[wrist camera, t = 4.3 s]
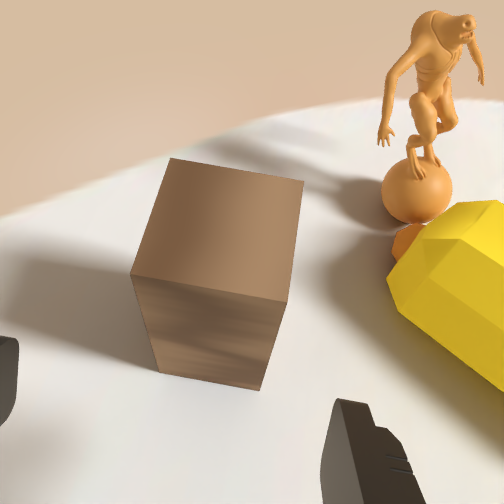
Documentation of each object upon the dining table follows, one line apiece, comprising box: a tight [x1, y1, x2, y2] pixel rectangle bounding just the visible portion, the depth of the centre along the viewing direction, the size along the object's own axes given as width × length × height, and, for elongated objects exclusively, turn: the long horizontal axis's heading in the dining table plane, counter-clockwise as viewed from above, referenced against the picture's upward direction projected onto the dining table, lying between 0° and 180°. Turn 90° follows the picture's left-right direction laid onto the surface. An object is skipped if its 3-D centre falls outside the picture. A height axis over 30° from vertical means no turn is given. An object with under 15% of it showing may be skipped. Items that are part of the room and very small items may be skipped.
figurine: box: [378, 10, 484, 224], centre depth 25 cm, size 8×6×12 cm
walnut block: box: [130, 158, 304, 391], centre depth 20 cm, size 5×5×10 cm
